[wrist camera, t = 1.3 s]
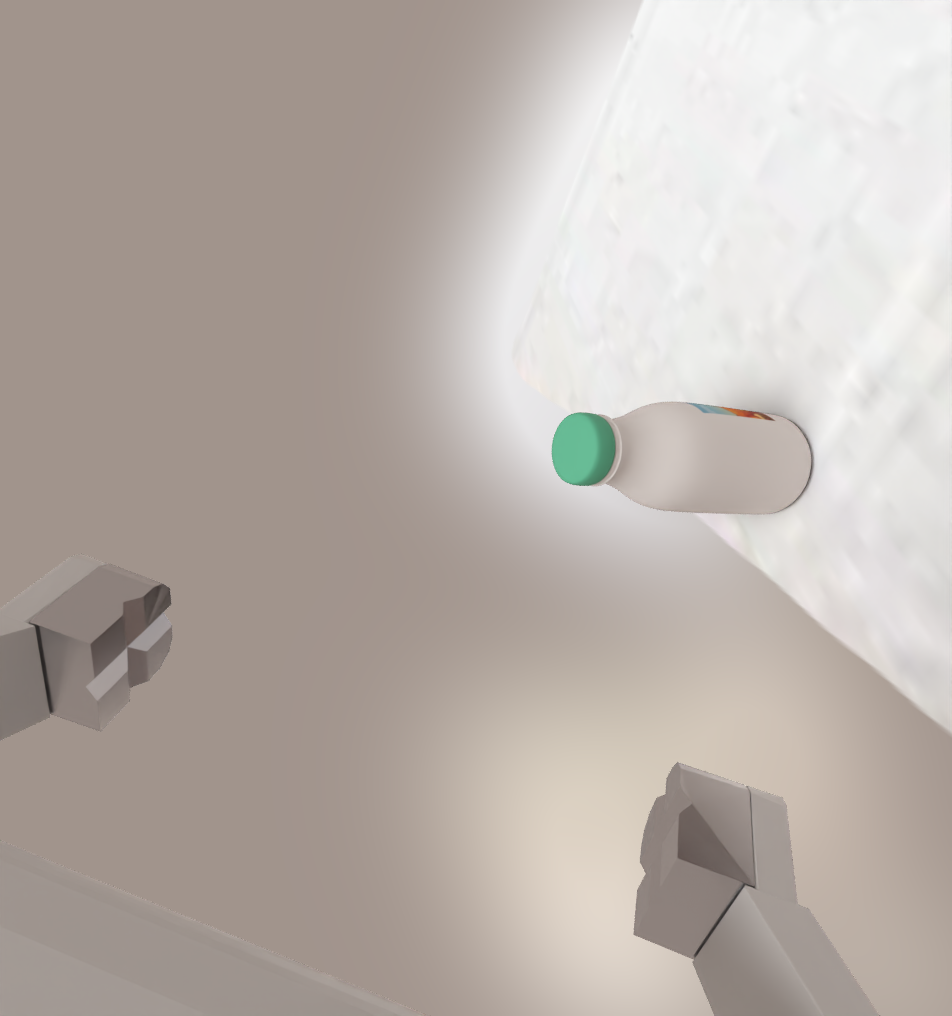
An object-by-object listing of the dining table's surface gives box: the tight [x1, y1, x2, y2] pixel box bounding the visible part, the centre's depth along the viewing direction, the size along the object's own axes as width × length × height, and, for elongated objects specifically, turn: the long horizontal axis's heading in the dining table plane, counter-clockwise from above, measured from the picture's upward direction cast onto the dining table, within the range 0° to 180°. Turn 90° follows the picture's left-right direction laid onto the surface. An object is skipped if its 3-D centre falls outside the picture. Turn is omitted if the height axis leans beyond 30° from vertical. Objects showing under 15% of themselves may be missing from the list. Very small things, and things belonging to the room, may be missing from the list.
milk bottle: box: [552, 402, 811, 514], centre depth 52 cm, size 8×8×20 cm
